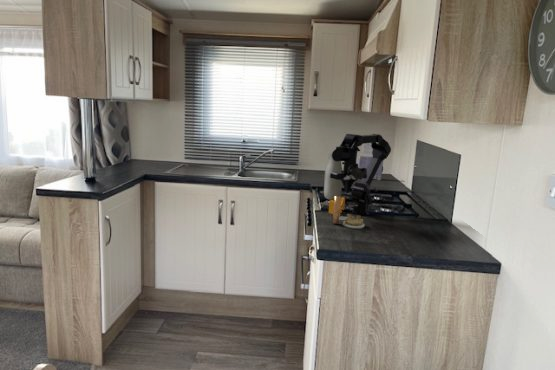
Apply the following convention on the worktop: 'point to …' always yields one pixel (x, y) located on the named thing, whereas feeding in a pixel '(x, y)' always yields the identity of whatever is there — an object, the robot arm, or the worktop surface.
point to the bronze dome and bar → (349, 219)
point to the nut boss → (353, 226)
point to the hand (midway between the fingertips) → (347, 192)
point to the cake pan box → (365, 162)
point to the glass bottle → (330, 184)
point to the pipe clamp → (331, 205)
